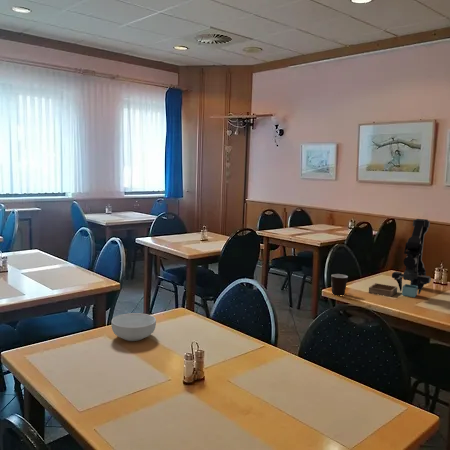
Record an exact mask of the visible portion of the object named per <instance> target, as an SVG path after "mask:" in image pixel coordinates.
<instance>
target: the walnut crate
mask: <svg viewBox="0 0 450 450" xmlns="http://www.w3.org/2000/svg"><path fill="white" fill-rule="evenodd" d="M397 292H398V286H393V285H389V284H382V283H373V284H372V285H371V286H369V287H368V294H372V293H374V294H373V295H377V294H379V295H378V296H383V295H384V297H389V296H390V297H389V298H392V297H393V296H394V295H396V294H397Z"/></svg>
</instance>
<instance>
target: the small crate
mask: <svg viewBox="0 0 450 450" xmlns="http://www.w3.org/2000/svg"><path fill="white" fill-rule="evenodd" d="M418 292H419V289H418V286H415V285H410V284H407V283H405V284H404V285H402V291H401V295H403V296H404V297H410V298H416V297H417V296H418Z"/></svg>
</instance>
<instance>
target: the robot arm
mask: <svg viewBox="0 0 450 450" xmlns="http://www.w3.org/2000/svg"><path fill="white" fill-rule="evenodd" d="M430 226H431V221H430V220H429V219H428V218H427V219H425V218H416V219H413V222H412V227H413V229H412V233H411V236H410V237H408V239H407V241H406V243H405V247H404V252H403V254H404V255H406V257H404V259H403V265H404V266H405V270H404V272H402V271H396V270H395V271H394V272H392V274H391V278H392V279H394V280H395V281H396V282H397V284H398V288H399V292H402V289H403V280H404V281H410V284H409V285H415V286H418V291H417V295H420V294H421V292H422V290H423V287H424V286H425V285H427V284H430V282H432V281H431V280H432V278H431V276H430V275H427V270H426V268H425V264H424V262H423V260H422V259H423V251H424V242H425V235H426V234H427V232H429V228H430Z"/></svg>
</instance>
